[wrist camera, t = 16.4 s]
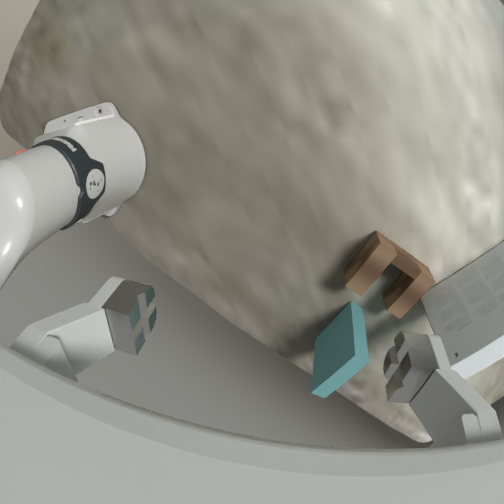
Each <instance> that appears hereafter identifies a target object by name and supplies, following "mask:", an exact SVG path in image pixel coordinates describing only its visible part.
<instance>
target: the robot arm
mask: <svg viewBox="0 0 504 504" xmlns="http://www.w3.org/2000/svg"><path fill="white" fill-rule="evenodd" d="M100 110H101V111H102V112H101V113H100ZM145 165H146V162H145V153H144V149H143V145H142V143H141V140H140V138H139V136H138V135H137V133H136V132H135V130H134V129H133V128H132V127H131V126H130V125H129V124H128V123H127V122H126V121H124V120H123V119H122V118H121V117H120V116H119V114H118V112H117V110H116V108H115V106H114V105H113V104H112V103H111V102H105V103H102V104H98V105H95V106H92V107H89V108H86V109H83V110H79V111H77V112H74V113H71V114H68V115H65V116H62V117H60V118H57V119H54V120H52V121H49V122H48V123H47V125H46V128H45V131H44V135H41V136H38V137H37V138H36V139H35V141H34V144H33V147H32V148H31V149H29V150H20V151H17V152H15V155H12V156H10V157H7V158H5V159H2V160H0V289H1V288H2V287H3V285H4V284H5V282H6V281H7V279H8V278H9V277H10V275H11V274H12V272H13V271H14V270H15V268H16V267H17V266H18V264H19V263H20V262H21V261H22V260H23V259H24V258H25V257H26V256H27V255H28V254H29V253H30V252H31V251H32V250H33V249H35V248H36V247H37V246H38V245H40V244H41V243H42V242H44V241H45V240H46V239H48V238H49V237H51V236H52V235H53V234H55V233H56V232H57V231H59V230H64V229H67V228H68V227H71V226H74V225H75V224H77V223H79V222H80V221H81V222H82V223H87V222H89V221H91V220H92V219H95V218H97V217H99V216H101V215H106V216H112V215H114V214H116V212H117V211H118V209H119V207H120V206H121V204H122V203H123V202H124V201H126V200H127V199H129V198H130V197H132V196H133V195H134V194H135V193H136V192H137V190H138V189H139V187H140V185H141V183H142V181H143V178H144V174H145ZM154 297H155V294H154V288H153V287H152V286H149V285H144V284H141V283H138V282H134V281H130V280H125V279H122V278H118V277H115V276H114V277H111V278H110V279H109V280H108V281H107V282H106V283H105V284H104V285H103V286H102V288H101V289H100V290H99V291H98V292H97V293H96V295H95V296H94V297H93V298H92V299H91V300H90V301H89V303H88V304H87V303H82V304H79V305H77V306H74V307H72V308H70V309H67V310H64V311H62V312H59V313H57V314H55V315H52V316H49V317H47V318H44V319H42V320H40V321H37V322H35V323H32V324H30V325H28V326H27V328H26V329H25V330H24V331H23V332H22V333H21V334H20V335H19V337H18V338H17V339H16V340H15V341H14V342H13V344H12V345H11V346H10V347H7V346H6V345H4V344H3V343H1V342H0V504H504V439H503V436H502V433H501V429H500V425H499V422H498V418H497V415H496V412H495V410H494V409H492V407H491V406H490V405H489V404H488V403H487V402H486V401H485V400H484V399H483V398H482V397H481V396H480V395H479V394H478V393H477V392H476V391H475V390H474V389H473V388H472V387H471V386H470V385H469V384H468V383H467V382H466V381H465V380H464V379H463V378H462V377H461V376H460V375H459V374H458V373H457V372H456V371H455V370H452V369H451V366H450V363H449V360H448V357H447V354H446V351H445V349H444V346H443V343H442V340H441V338H440V337H439V336H438V335H430V334H418V333H409V332H399V333H398V334H397V335H396V337H395V339H394V342H395V346H393V347H392V348H390V349H389V350H388V352H387V354H386V356H385V360H384V365H383V371H384V376H385V377H386V378H387V380H388V383H387V385H386V393H387V401H388V402H396V403H410V404H409V405H410V407H411V408H412V410H413V411H414V413H415V414H416V416H417V417H418V419H419V420H420V422H421V423H422V425H423V426H424V428H425V429H426V431H427V432H428V434H429V435H430V437H431V438H432V440H433V441H434V443H433V445H431V446H430V447H429V448H420V449H360V448H341V447H328V446H316V445H307V444H298V443H291V442H284V441H277V440H270V439H265V438H259V437H253V436H248V435H243V434H238V433H233V432H228V431H224V430H219V429H215V428H211V427H206V426H203V425H199V424H195V423H191V422H188V421H184V420H180V419H177V418H173V417H170V416H167V415H164V414H160V413H157V412H154V411H151V410H148V409H145V408H142V407H139V406H136V405H133V404H130V403H127V402H125V401H122V400H119V399H117V398H114V397H112V396H109V395H106V394H104V393H101V392H99V391H97V390H94V389H91V388H89V387H87V386H85V385H82V384H80V383H79V382H78V380H77V378H76V376H75V375H76V374H78V373H80V372H81V371H83V370H84V369H86V368H88V367H89V366H91V365H92V364H94V363H95V362H97V361H99V360H100V359H102V358H104V357H105V356H107V355H108V354H110V353H111V352H113V351H114V350H115V349H117V350H120V351H123V352H127V353H130V354H134V355H138V353H139V351H140V350H141V348H142V346H143V344H144V342H145V339H144V336H145V335H147V334H149V333H150V332H151V331H152V329H153V327H154V323H155V320H156V306H155V305H154V304H153V302H152V300H153V298H154Z"/></svg>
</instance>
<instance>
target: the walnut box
mask: <svg viewBox="0 0 504 504" xmlns="http://www.w3.org/2000/svg"><path fill="white" fill-rule="evenodd" d="M390 263H392V264H393V265H395V266H396V267H398V268H399V269H400V270H402V271H403V273H402V274H401V275H400V276H399V278H398V279H397V280H396V281H395V282H394V283H393V284H392V286H391V287H390V288H389V289H388V290H387V291H386V292H385V293H384V294H383V298H384V303H385V307H386V311H388V312H389V313H391V314H392V315H394V316H396V317H397V318H399V319H401V318H402V317H403V316H404V315H405V314H406V313H407V312H408V311H409V310H410V309H411V308H412V307H413V306H414V305H415V304H416V302H417V301H418V300H419V299H420V298H421V297H422V296H423V295H424V294H425V293H426V292H427V291H428V290H429V288H430V287H431V286H432V285H433V284H434V283H435V280H434V278H433V276H432V274H431V272H430V270H429V268H428V267H427V266H425V265H424V264H423V263H421V262H420V261H419V260H417V259H416V258H414V257H413V256H412V255H410V254H409V253H408V252H406V251H405V250H403V249H402V248H400V247H399V246H398V245H396V244H395V243H393V242H392V241H391V240H389V239H388V238H386V237H385V236H383V235H382V234H380V233H379V232H377V231H375V232H374V234H373V235H372V236H371V238H370V239H369V240H368V242H367V243H366V244H365V245H364V247H363V248H362V249H361V250H360V252H359V253H358V254H357V256H356V257H355V258H354V259H353V261H352V262H351V263H350V264H349V266H348V267H347V268H346V269H345V270H344V279H345V286H346V287H347V288H349V289H351V290H352V291H354V292H356V293H357V294H359V295H361V296H362V295H363V294H364V293H365V292H366V291H367V289H368V288H369V287H370V286H371V285H372V284H373V283H374V281H375V280H376V279H377V278H378V277H379V276H380V274H381V273H382V272H383V271H384V270H385V269H386V267H387V266H388V265H389V264H390Z"/></svg>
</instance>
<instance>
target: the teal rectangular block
mask: <svg viewBox="0 0 504 504" xmlns="http://www.w3.org/2000/svg"><path fill="white" fill-rule="evenodd" d="M368 363H369V356H368V347H367V338H366V329H365V321H364V314H363V308H362V307H360V306H358V305H357V304H355V303H353V302H352V301H350V303H349V304H348V305H347V306H346V307H345V308H344V309H343V310H342V311H341V312H340V313H339V315H338V316H337V317H336V318H335V319H334V320H333V321H332V322H331V323H330V324H329V325H328V326H327V327H326V328H325V329H324V330H323V332H322V333H321V334H320V335H319V336H318V337H317V338H316V339H315V351H314V365H313V377H312V388H311V393H313V394H315V395H318V396H320V397H323V398H325V397H327V396H328V395H329V394H331V393H332V392H333V391H335V390H336V389H337V388H338V387H340V386H341V385H342V384H343V383H345V382H346V381H347V380H348V379H350V378H351V377H352V376H353V375H355V374H356V373H357V372H358V371H359V370H361V369H362V368H363V367H364V366H365V365H366V364H368Z"/></svg>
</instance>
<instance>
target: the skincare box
mask: <svg viewBox="0 0 504 504" xmlns="http://www.w3.org/2000/svg"><path fill="white" fill-rule="evenodd" d="M420 299H421V302H422V304H423V307H424V309H425V311H426V314H427V317H428V319H429V322H430V325H431V327H432V330H433V333H434V335H438V336H439V337H440V338H441V340H442V343H443V346H444V349H445V351H446V354H447V357H448V360H449V363H450V366H451V369H452V370H455V371H456V372H457V373H458V374H459V375H460V376H461V377H462V378H463V379H466V378H468V377H470V376H472V375H474V374H476V373H477V372H479V371H481V370H483V369H484V368H486V367H488V366H490V365H491V364H493V363H495V362H496V361H498V360H500V359H501V358H503V357H504V241H502V242H501V243H500V244H498V245H497V246H495V247H494V248H493V249H491V250H490V251H488V252H487V253H485V254H484V255H482V256H481V257H479V258H478V259H476V260H475V261H473V262H472V263H470V264H469V265H467V266H466V267H464V268H463V269H461V270H460V271H458V272H456V273H455V274H453V275H452V276H450V277H449V278H447V279H445V280H444V281H442V282H440V283H439V284H437V285H435V286H434V287H432V288H430V289H429V290H428V291H427V292H426V293H425V294H424V295H423V296H422V297H421V298H420Z"/></svg>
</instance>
